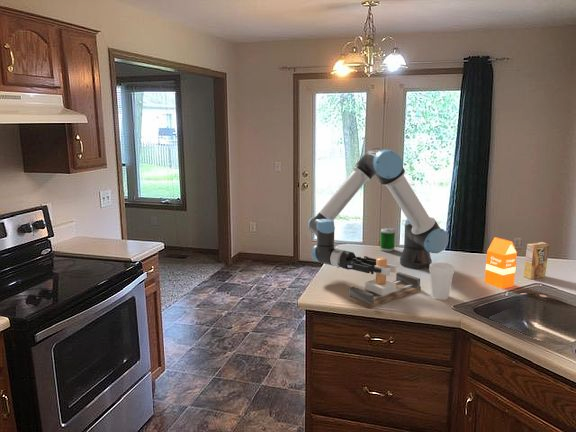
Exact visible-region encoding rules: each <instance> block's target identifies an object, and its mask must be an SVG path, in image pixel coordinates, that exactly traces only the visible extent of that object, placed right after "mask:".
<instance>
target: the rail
mask: <svg viewBox="0 0 576 432" xmlns="http://www.w3.org/2000/svg"><path fill="white" fill-rule="evenodd" d="M392 283H395V284H396V291H395V292H392V293H389V294H386V295H383V296H381V295H379V294H376V293H374V292H371V291H368V290H366V289H365V290H363V289H360V288H358V287H356V286H350V287H349V296H348V301H350V302H352V303H354V304H357V305H360V306H363V307H364V308H367V309H371V308H375V307H377V306H380V305H382V304H385V303H388V302H390V301H394V300H396V299H400V298H403V297H405V296H407V295H410V294H413V293H416V292H419V291H421V289H422V288H421V278H419V277H416V276H413V275H410V274H406V273H403V272H402V271H401V272H400V271H399V272H396V274H395V280H394V281H392Z"/></svg>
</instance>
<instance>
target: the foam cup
mask: <svg viewBox="0 0 576 432" xmlns="http://www.w3.org/2000/svg"><path fill="white" fill-rule="evenodd" d="M428 270H429V271H428V272H429V276H430V279H429V280H430V289H431V297H432V298H433V299H436V300H443V301H444V300H448V299H449V296H450V292H451V287H452V282H453V278H454V277H453V276H454V274H455V265H454V264H452V263H449V262H443V261H439V262H438V261H436V262H434V261H433V262H432V263H431V264H430V267H428Z"/></svg>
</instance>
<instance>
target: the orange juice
mask: <svg viewBox="0 0 576 432" xmlns="http://www.w3.org/2000/svg"><path fill="white" fill-rule="evenodd" d="M517 255H518V252H517V249H516V248H515V245H514V243H513V241H512V240H508V239H505V238H501V237H496V236H494V237H493V239H492V241H491V243H490V245H489V247H488V249H487V251H486V261H485V262H486V263H485V275H484V283H486V284H487V285H490V286H492V287H496V288H499V289H502V290H503V289H507V288H510V287H514V286H515V276H516V268H517V267H516V266H517V257H518V256H517Z"/></svg>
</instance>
